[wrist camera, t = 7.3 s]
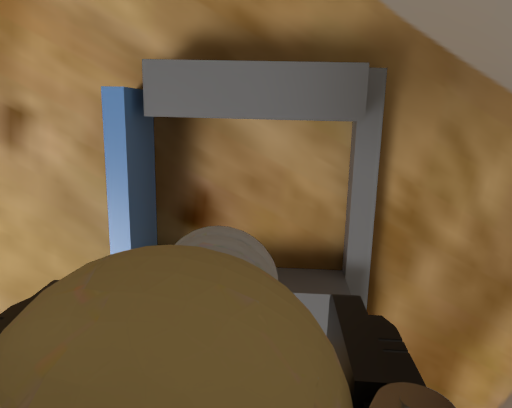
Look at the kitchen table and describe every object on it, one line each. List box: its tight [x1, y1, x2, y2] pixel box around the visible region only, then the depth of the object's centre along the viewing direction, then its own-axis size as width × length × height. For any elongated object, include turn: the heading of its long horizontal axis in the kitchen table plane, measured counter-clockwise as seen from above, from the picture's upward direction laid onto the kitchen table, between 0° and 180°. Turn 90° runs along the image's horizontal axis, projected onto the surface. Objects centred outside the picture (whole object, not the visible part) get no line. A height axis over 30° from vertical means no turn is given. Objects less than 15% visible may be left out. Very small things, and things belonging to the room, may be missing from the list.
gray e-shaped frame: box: [101, 59, 387, 336], centre depth 27 cm, size 29×15×5 cm, turn 179°
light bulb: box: [0, 226, 353, 408], centre depth 9 cm, size 6×6×10 cm
